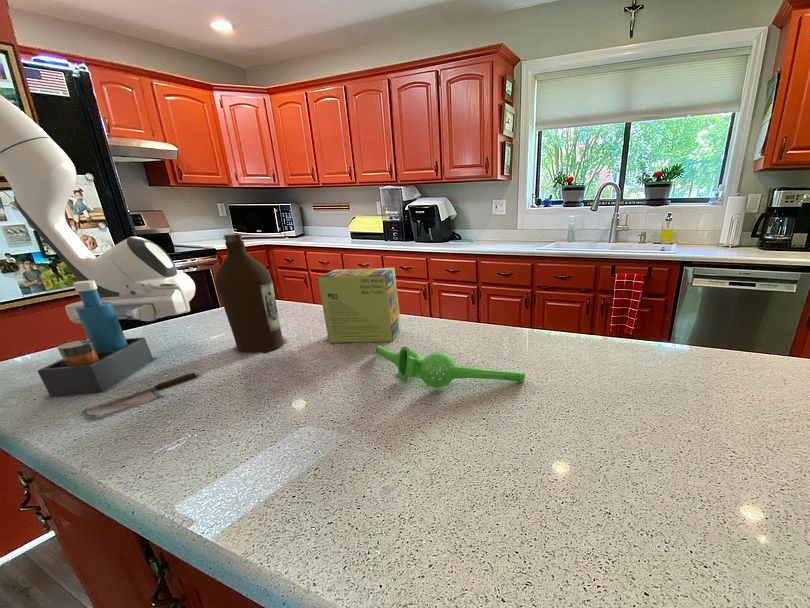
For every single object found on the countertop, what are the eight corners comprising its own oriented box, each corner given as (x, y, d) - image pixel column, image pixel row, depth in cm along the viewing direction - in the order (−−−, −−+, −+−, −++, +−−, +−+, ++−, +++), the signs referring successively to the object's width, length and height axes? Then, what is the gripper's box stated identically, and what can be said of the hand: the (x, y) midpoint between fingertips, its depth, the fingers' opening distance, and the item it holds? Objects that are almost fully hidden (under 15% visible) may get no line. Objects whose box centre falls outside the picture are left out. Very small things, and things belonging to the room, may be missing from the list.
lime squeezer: (525, 379, 71) (525, 346, 69) (497, 409, 62) (497, 372, 59) (380, 353, 86) (376, 325, 83) (339, 374, 76) (334, 343, 74)
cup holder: (154, 361, 85) (145, 337, 83) (103, 394, 71) (90, 366, 69) (111, 365, 84) (101, 340, 82) (51, 399, 70) (36, 370, 68)
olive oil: (228, 358, 86) (192, 238, 76) (244, 342, 95) (214, 233, 86) (280, 352, 88) (252, 235, 78) (290, 337, 97) (267, 231, 88)
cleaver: (92, 418, 61) (82, 409, 64) (95, 424, 62) (85, 415, 64) (204, 377, 73) (192, 371, 76) (206, 382, 74) (194, 376, 76)
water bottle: (103, 375, 77) (64, 286, 70) (102, 367, 81) (64, 282, 74) (136, 367, 80) (102, 281, 74) (134, 360, 84) (101, 278, 77)
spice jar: (76, 392, 71) (56, 350, 68) (76, 384, 74) (57, 344, 71) (109, 383, 74) (92, 343, 71) (108, 376, 77) (91, 338, 74)
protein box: (393, 341, 92) (385, 275, 86) (328, 343, 93) (315, 277, 87) (402, 328, 102) (395, 267, 96) (343, 329, 102) (332, 268, 96)
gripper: (89, 290, 88) (35, 305, 75) (189, 284, 90) (154, 298, 78) (100, 317, 90) (50, 337, 77) (198, 310, 93) (165, 328, 80)
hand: (103, 317), depth 78 cm, fingers open, 8 cm apart
